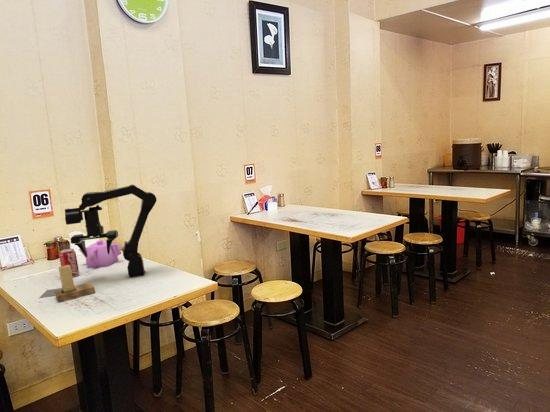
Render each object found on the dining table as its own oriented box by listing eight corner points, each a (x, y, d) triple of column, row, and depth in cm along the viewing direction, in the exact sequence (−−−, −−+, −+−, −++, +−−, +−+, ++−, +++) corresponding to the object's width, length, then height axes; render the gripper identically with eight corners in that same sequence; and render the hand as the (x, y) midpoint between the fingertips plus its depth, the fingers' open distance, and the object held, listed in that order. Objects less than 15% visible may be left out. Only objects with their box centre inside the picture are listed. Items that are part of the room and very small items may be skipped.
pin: (74, 294, 172) (69, 264, 170) (76, 297, 169) (70, 266, 167) (63, 297, 170) (58, 266, 168) (65, 300, 167) (59, 269, 165)
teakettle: (93, 270, 206) (89, 246, 204) (80, 265, 218) (76, 242, 216) (126, 261, 218) (122, 238, 216) (111, 257, 230) (108, 235, 228)
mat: (71, 287, 182) (71, 286, 182) (64, 295, 173) (64, 294, 173) (47, 290, 181) (46, 290, 181) (38, 299, 171) (38, 298, 171)
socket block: (91, 288, 178) (90, 282, 177) (95, 293, 171) (94, 286, 171) (56, 297, 171) (54, 290, 170) (58, 303, 164) (57, 296, 163)
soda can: (73, 279, 195) (68, 252, 193) (59, 279, 196) (54, 252, 194) (82, 274, 202) (78, 248, 200) (69, 274, 203) (65, 248, 201)
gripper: (117, 215, 192) (122, 248, 195) (74, 220, 189) (80, 253, 192) (113, 219, 182) (118, 254, 184) (67, 225, 178) (73, 260, 181)
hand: (97, 255), depth 185 cm, fingers open, 9 cm apart
